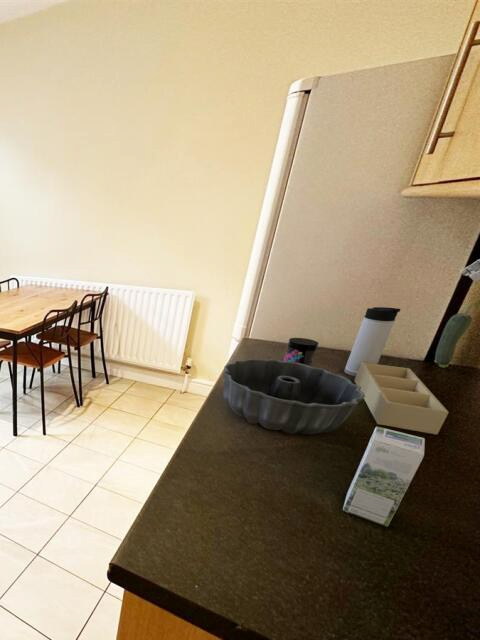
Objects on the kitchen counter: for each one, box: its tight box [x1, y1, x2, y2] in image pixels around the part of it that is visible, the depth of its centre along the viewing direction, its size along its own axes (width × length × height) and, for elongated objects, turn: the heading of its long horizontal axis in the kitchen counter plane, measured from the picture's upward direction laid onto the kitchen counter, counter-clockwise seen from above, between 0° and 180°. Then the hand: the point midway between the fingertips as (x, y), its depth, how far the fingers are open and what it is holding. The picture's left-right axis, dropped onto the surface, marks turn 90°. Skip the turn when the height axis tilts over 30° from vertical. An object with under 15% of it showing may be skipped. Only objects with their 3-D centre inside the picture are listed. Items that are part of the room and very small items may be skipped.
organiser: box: [354, 363, 449, 435], centre depth 102 cm, size 10×28×6 cm, turn 148°
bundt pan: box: [222, 358, 365, 436], centre depth 97 cm, size 26×26×10 cm
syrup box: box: [342, 426, 426, 528], centre depth 66 cm, size 6×6×14 cm
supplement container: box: [282, 337, 319, 367], centre depth 119 cm, size 7×7×10 cm
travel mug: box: [343, 306, 401, 378], centre depth 116 cm, size 6×7×20 cm
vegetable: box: [434, 300, 479, 369], centre depth 120 cm, size 4×4×20 cm
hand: (466, 276), depth 101 cm, fingers open, 8 cm apart
